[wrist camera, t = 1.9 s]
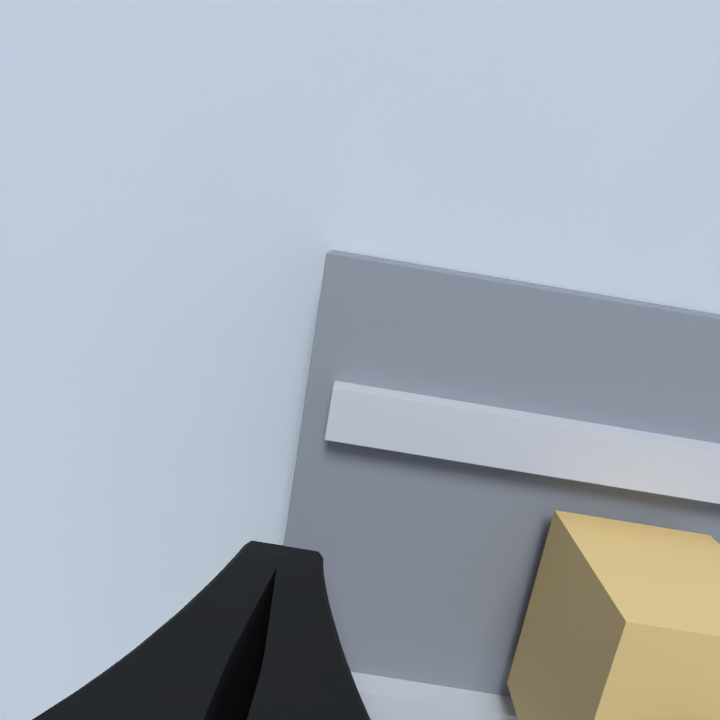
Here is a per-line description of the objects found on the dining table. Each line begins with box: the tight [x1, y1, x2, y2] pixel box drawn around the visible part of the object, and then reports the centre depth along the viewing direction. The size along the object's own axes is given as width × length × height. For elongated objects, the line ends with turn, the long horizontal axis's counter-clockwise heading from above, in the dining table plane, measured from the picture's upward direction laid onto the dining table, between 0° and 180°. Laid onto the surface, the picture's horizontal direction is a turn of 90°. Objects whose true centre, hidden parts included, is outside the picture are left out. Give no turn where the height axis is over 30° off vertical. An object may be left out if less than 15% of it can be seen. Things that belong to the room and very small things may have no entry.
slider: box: [507, 510, 720, 720], centre depth 9 cm, size 3×4×4 cm
